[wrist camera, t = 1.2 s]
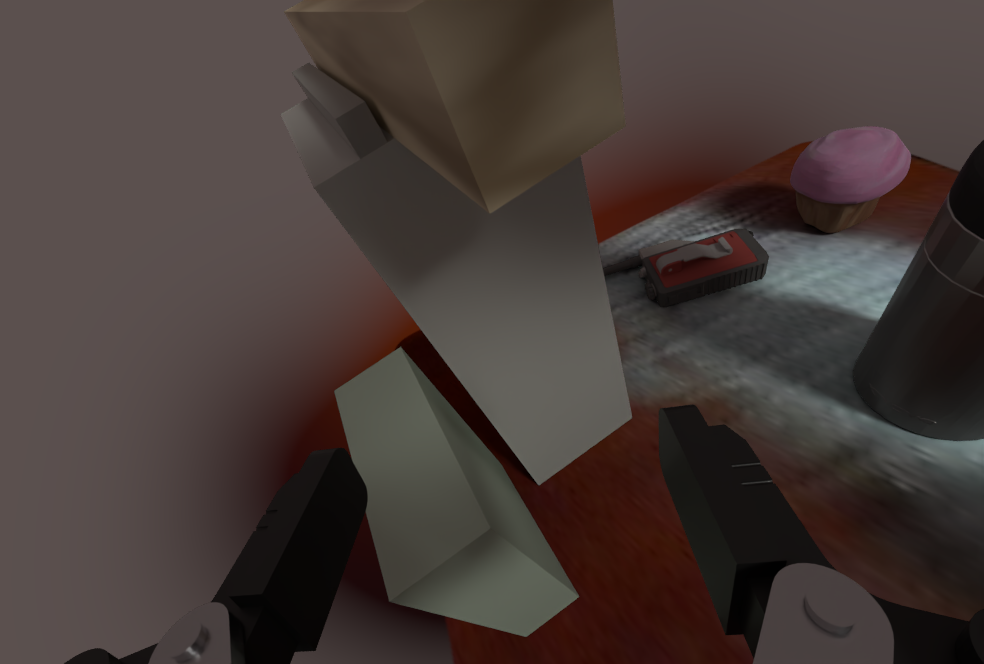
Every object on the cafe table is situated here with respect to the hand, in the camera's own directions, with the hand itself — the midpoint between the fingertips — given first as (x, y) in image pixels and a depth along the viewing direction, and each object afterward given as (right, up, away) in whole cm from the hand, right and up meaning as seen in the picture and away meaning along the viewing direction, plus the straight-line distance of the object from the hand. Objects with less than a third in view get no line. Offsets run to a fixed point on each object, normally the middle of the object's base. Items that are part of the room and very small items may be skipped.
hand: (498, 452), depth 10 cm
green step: (+2, -15, +25) cm, 29 cm away
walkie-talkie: (+21, +9, +38) cm, 44 cm away
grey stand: (+5, -4, +33) cm, 34 cm away
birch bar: (-4, +13, +7) cm, 16 cm away
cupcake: (+38, +15, +35) cm, 53 cm away
